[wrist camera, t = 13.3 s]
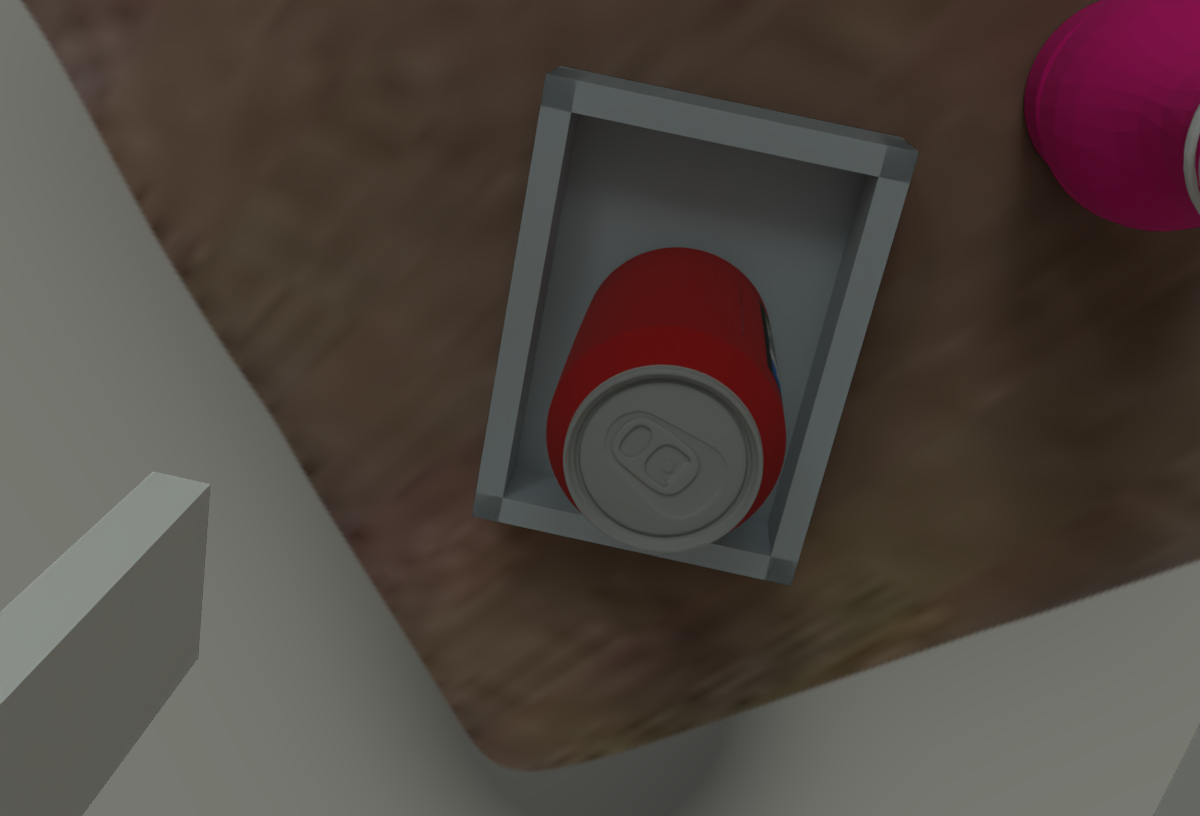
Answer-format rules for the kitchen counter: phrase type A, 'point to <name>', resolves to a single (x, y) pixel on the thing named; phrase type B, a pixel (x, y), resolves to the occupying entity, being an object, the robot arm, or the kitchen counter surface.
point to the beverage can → (669, 404)
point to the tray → (704, 222)
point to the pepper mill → (1123, 111)
